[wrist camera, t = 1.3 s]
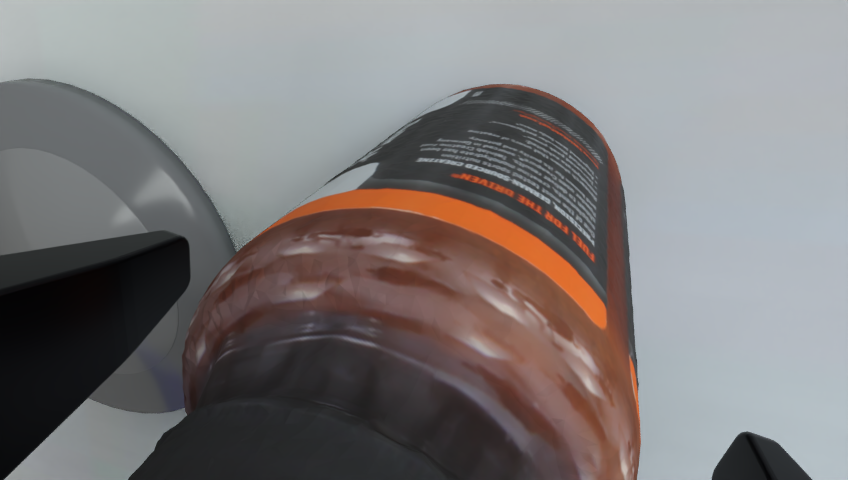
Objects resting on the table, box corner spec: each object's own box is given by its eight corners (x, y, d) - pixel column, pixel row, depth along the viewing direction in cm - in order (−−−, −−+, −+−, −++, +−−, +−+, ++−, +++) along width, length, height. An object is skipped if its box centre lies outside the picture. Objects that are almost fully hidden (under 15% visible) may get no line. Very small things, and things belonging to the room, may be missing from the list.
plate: (244, 439, 22) (227, 459, 21) (-7, 334, 24) (-31, 348, 23) (251, 139, 15) (228, 149, 15) (-89, 37, 18) (-126, 40, 17)
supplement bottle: (386, 81, 14) (-175, 335, 4) (635, 74, 12) (777, 518, 2) (405, 284, 16) (97, 749, 6) (613, 304, 14) (628, 993, 5)
